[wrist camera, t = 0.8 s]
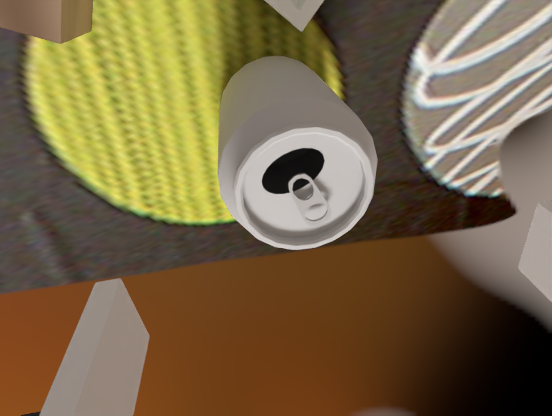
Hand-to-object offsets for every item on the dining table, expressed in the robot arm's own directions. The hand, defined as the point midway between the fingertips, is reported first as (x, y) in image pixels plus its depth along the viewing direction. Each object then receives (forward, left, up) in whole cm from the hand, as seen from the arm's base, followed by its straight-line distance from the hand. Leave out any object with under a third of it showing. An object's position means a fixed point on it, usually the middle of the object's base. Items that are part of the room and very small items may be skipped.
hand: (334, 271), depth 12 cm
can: (0, 0, -17) cm, 17 cm away
